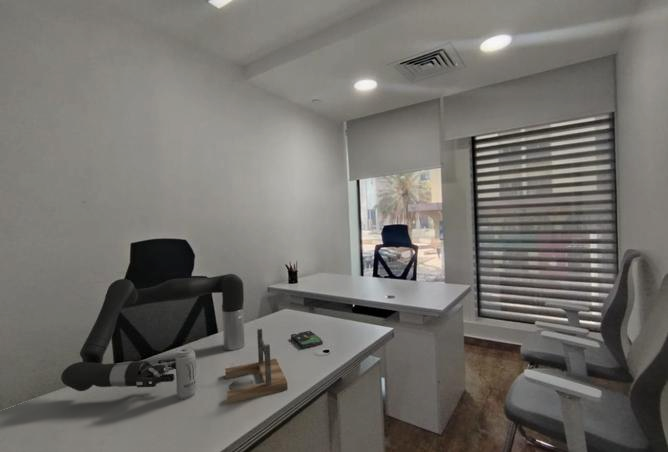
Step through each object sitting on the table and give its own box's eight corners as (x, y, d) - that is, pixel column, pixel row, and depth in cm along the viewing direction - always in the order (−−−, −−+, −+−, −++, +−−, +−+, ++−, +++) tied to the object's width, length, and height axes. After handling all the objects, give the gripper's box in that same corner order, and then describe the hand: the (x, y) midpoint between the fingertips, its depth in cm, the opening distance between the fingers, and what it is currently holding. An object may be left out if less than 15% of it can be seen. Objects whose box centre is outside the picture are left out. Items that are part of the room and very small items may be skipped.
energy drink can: (188, 401, 100) (185, 354, 99) (172, 398, 101) (170, 353, 101) (201, 391, 105) (199, 347, 105) (186, 388, 107) (184, 345, 107)
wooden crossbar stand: (225, 375, 116) (223, 334, 116) (276, 364, 123) (274, 325, 123) (228, 403, 97) (225, 354, 97) (287, 389, 104) (285, 343, 104)
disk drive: (290, 340, 149) (302, 350, 136) (290, 334, 149) (302, 344, 136) (310, 335, 154) (323, 345, 141) (309, 330, 154) (323, 339, 141)
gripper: (144, 374, 110) (190, 371, 110) (116, 397, 95) (169, 394, 96) (142, 353, 109) (189, 350, 110) (115, 373, 95) (168, 370, 96)
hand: (180, 371), depth 103 cm, fingers open, 8 cm apart
